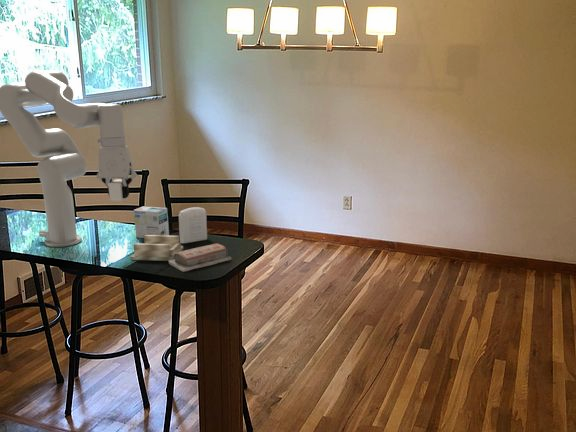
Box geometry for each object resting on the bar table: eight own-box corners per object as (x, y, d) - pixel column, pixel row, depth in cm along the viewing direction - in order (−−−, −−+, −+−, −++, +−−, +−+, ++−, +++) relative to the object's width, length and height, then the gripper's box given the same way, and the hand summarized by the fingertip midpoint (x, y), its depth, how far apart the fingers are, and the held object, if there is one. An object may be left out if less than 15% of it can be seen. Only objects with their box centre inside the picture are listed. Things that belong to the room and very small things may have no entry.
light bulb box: (169, 235, 224) (167, 207, 221) (160, 240, 218) (158, 211, 215) (145, 233, 228) (142, 205, 225) (135, 237, 221) (132, 209, 219)
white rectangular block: (110, 201, 197) (108, 183, 195) (117, 196, 202) (115, 179, 201) (121, 201, 196) (119, 183, 195) (128, 196, 202) (127, 179, 200)
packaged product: (215, 240, 202) (231, 247, 195) (215, 253, 204) (231, 261, 196) (167, 251, 192) (182, 258, 184) (168, 265, 193) (183, 273, 185)
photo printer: (204, 237, 221) (202, 204, 218) (209, 239, 218) (207, 206, 215) (178, 241, 216) (176, 208, 213) (183, 244, 212) (181, 211, 209)
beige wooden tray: (130, 259, 197) (129, 245, 196) (144, 247, 210) (143, 233, 208) (171, 260, 195) (170, 246, 194) (183, 248, 208) (182, 234, 207)
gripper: (83, 144, 192) (90, 199, 196) (133, 143, 190) (138, 200, 194) (94, 141, 199) (100, 195, 204) (142, 140, 197) (147, 195, 201)
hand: (119, 196), depth 199 cm, fingers closed on white rectangular block, 4 cm apart
